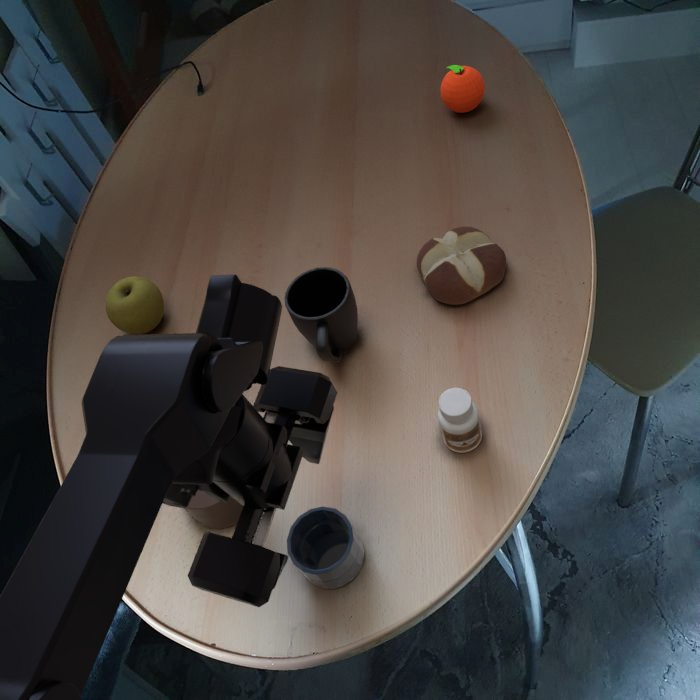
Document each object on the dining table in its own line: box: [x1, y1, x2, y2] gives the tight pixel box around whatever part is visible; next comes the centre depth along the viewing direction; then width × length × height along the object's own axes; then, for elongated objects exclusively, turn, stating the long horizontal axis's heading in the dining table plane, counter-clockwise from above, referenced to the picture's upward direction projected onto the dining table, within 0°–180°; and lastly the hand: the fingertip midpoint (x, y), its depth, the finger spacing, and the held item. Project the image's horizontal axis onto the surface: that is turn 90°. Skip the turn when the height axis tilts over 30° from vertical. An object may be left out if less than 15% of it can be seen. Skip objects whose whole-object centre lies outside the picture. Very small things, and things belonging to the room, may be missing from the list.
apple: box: [104, 275, 165, 335], centre depth 95 cm, size 8×8×7 cm
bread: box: [416, 226, 507, 306], centre depth 88 cm, size 11×11×5 cm
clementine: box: [440, 64, 486, 114], centre depth 107 cm, size 8×7×7 cm
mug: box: [284, 266, 359, 363], centre depth 83 cm, size 8×12×10 cm
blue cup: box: [286, 505, 365, 590], centre depth 69 cm, size 7×7×6 cm
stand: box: [182, 490, 243, 530], centre depth 77 cm, size 9×9×6 cm
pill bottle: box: [436, 387, 483, 454], centre depth 73 cm, size 4×4×8 cm
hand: (298, 508), depth 61 cm, fingers open, 9 cm apart
